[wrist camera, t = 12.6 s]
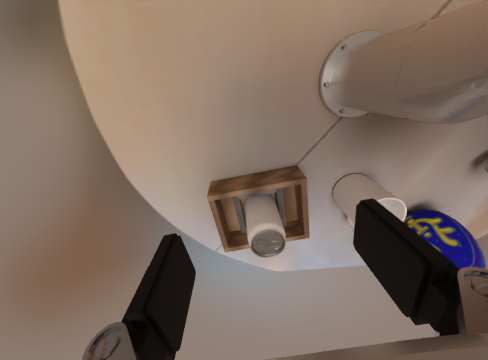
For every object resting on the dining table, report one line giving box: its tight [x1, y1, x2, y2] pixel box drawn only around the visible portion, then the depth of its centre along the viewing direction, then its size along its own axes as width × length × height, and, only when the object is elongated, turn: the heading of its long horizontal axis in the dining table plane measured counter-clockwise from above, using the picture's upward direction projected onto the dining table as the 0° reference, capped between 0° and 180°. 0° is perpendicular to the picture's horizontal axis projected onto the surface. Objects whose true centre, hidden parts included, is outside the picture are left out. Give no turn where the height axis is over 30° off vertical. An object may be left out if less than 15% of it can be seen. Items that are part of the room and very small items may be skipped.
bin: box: [207, 166, 310, 252], centre depth 40 cm, size 18×14×6 cm
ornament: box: [403, 210, 485, 269], centre depth 40 cm, size 11×9×15 cm
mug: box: [333, 174, 407, 232], centre depth 38 cm, size 12×8×10 cm
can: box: [245, 194, 286, 257], centre depth 36 cm, size 6×6×12 cm
